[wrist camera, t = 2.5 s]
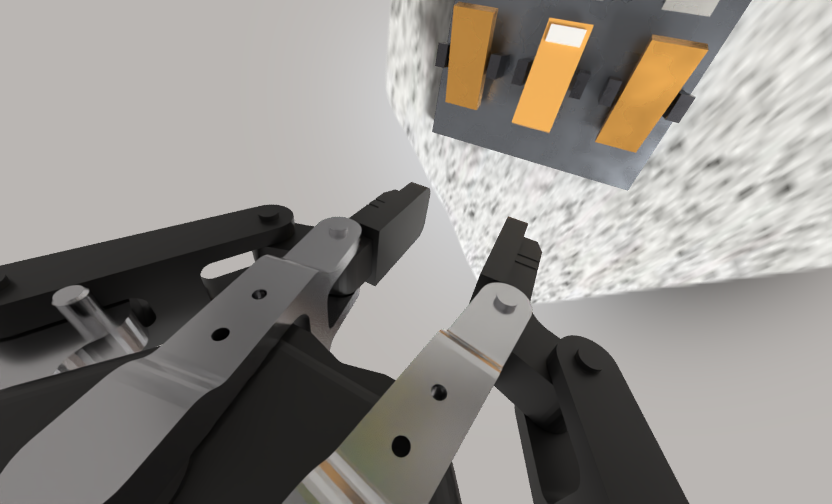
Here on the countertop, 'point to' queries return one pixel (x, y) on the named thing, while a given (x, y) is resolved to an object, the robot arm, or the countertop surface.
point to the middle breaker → (551, 73)
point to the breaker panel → (580, 78)
